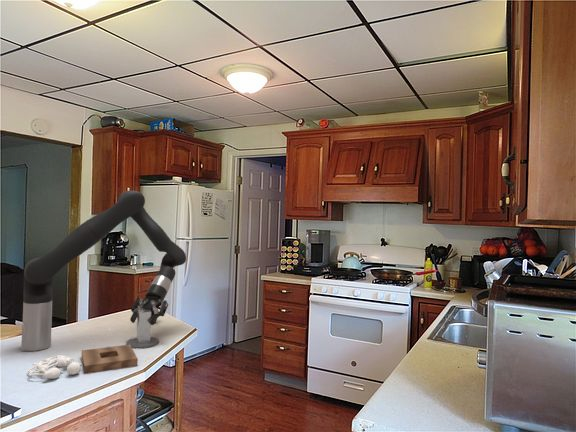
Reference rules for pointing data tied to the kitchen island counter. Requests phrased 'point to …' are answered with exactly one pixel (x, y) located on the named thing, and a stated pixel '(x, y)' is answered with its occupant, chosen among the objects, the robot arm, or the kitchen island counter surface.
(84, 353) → the socket block
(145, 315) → the steel peg
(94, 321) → the kitchen island counter surface
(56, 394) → the kitchen island counter surface
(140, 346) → the rubber pad
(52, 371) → the tangled rod sculpture
